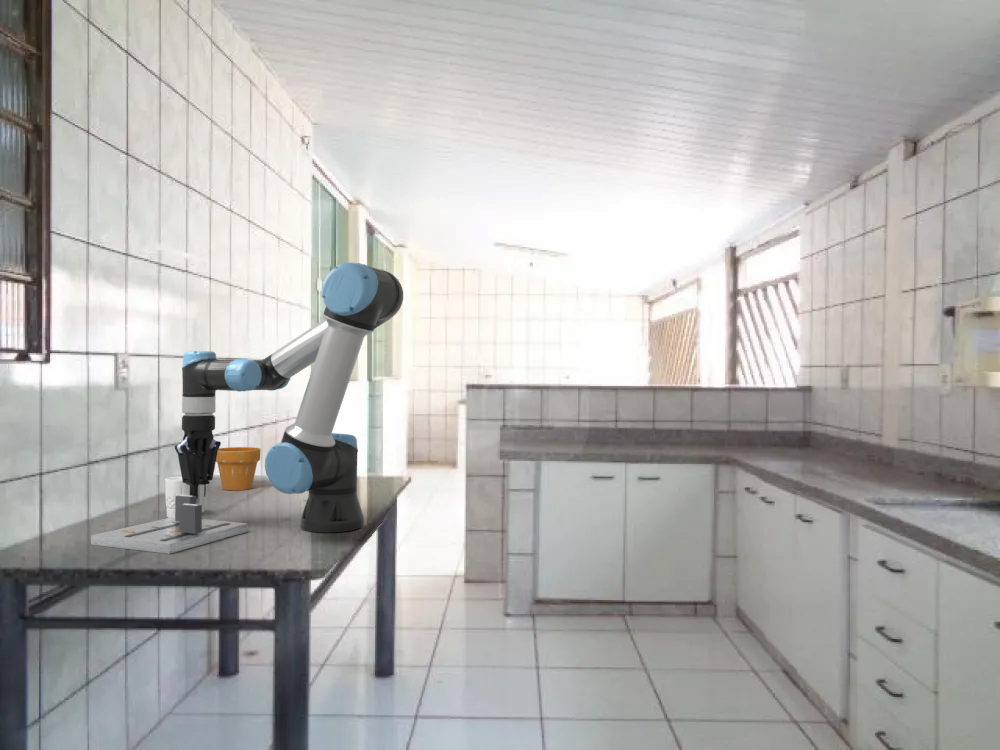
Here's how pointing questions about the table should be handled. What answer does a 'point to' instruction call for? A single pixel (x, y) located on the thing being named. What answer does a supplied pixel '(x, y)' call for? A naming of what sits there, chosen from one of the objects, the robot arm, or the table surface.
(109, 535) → the console
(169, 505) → the white cup
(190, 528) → the fader
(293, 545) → the table surface
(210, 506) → the table surface
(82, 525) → the table surface
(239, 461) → the flower pot
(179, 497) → the fader tab
